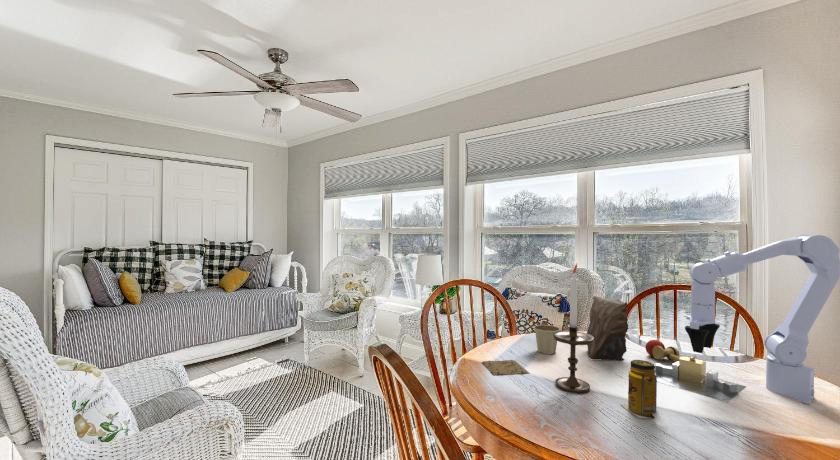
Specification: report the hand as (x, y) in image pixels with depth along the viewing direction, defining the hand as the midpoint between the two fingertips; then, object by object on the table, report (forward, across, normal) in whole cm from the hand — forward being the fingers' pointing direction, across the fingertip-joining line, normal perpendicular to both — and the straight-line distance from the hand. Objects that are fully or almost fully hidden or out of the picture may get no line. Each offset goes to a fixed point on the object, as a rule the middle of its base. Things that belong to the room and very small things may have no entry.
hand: (702, 349), depth 115 cm
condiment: (+10, +34, -2) cm, 35 cm away
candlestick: (+9, +35, -21) cm, 42 cm away
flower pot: (+9, +14, -44) cm, 47 cm away
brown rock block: (+9, +2, -30) cm, 31 cm away
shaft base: (+9, +5, -1) cm, 11 cm away
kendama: (+10, -10, -12) cm, 19 cm away
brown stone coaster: (+10, +39, -42) cm, 58 cm away
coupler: (+8, +3, -2) cm, 9 cm away
